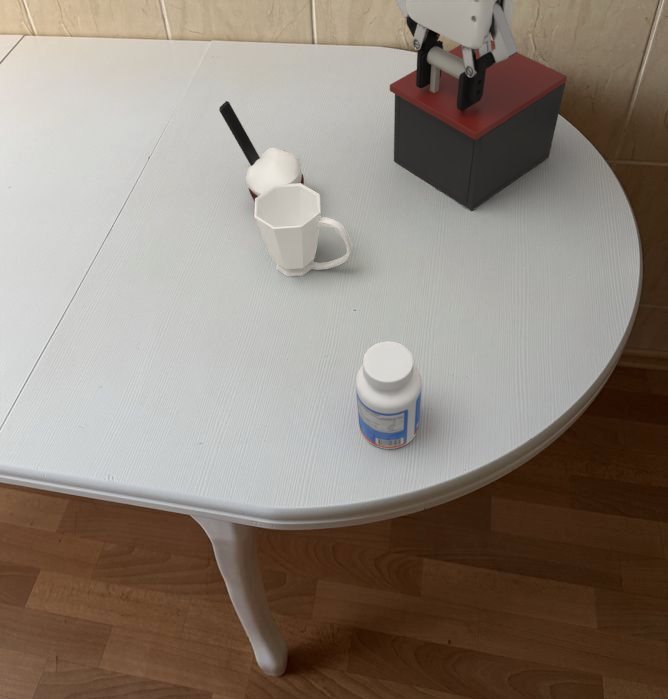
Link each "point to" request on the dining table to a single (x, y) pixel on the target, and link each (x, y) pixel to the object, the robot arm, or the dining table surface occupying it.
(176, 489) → the dining table surface
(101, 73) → the dining table surface
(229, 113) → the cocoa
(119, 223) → the dining table surface
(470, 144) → the dark open-top bin
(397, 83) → the bin lid
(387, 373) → the pill bottle
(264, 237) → the cup
